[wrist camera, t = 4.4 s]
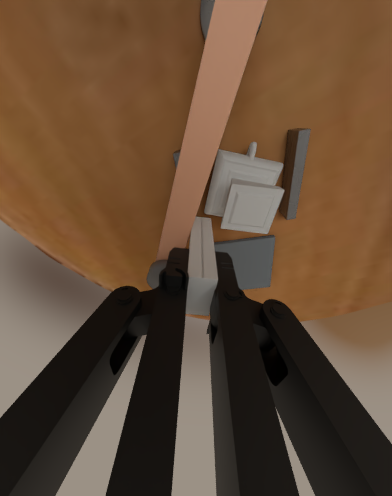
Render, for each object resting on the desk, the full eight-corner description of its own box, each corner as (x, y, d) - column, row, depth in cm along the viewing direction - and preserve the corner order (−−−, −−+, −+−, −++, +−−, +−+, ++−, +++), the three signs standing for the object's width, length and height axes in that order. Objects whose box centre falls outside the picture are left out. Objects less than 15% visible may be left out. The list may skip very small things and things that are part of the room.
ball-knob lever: (255, -328, 4) (304, -711, 2) (370, -231, 5) (489, -475, 3) (144, 265, 16) (136, 286, 13) (184, 274, 16) (182, 296, 14)
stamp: (249, 221, 24) (270, 260, 17) (201, 213, 24) (203, 250, 17) (278, 146, 19) (324, 159, 12) (218, 133, 19) (230, 139, 12)
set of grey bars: (142, -14, 13) (60, -218, 5) (324, -64, 12) (571, -427, 4) (190, 224, 24) (186, 272, 17) (287, 210, 23) (333, 255, 15)
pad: (203, 243, 26) (203, 246, 26) (273, 234, 25) (275, 237, 25) (211, 290, 32) (211, 292, 31) (268, 284, 31) (269, 286, 30)
